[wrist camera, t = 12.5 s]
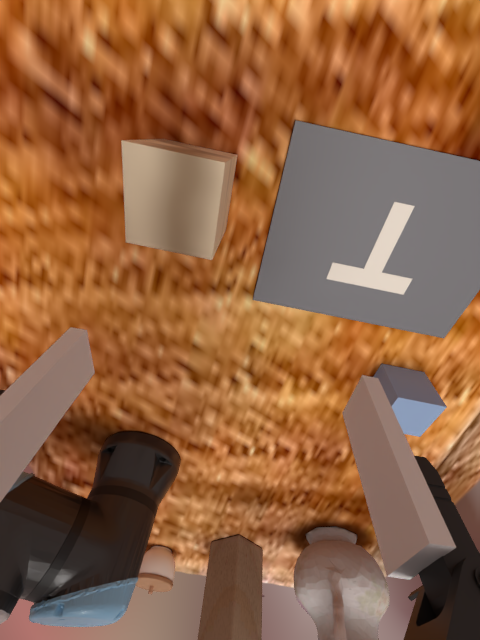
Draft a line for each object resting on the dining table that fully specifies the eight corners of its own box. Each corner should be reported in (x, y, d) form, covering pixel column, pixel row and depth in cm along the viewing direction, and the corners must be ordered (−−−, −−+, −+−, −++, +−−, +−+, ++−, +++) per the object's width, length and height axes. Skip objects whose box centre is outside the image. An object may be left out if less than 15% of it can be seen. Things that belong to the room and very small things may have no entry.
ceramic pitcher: (274, 516, 67) (267, 685, 48) (357, 509, 59) (389, 709, 39) (313, 550, 77) (320, 704, 57) (389, 548, 69) (428, 726, 49)
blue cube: (362, 392, 42) (375, 428, 37) (381, 363, 39) (398, 397, 34) (401, 400, 42) (419, 436, 37) (423, 371, 39) (446, 407, 34)
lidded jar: (169, 560, 86) (159, 602, 78) (137, 549, 84) (123, 592, 76) (186, 550, 81) (177, 595, 73) (152, 538, 78) (139, 583, 71)
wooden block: (239, 533, 72) (230, 654, 55) (263, 548, 76) (262, 665, 59) (210, 541, 76) (194, 655, 59) (234, 554, 80) (225, 666, 63)
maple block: (161, 215, 30) (125, 242, 23) (163, 138, 26) (121, 140, 19) (226, 229, 30) (212, 260, 23) (237, 154, 27) (225, 162, 19)
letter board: (253, 298, 35) (252, 299, 34) (295, 120, 25) (295, 120, 24) (442, 336, 35) (444, 338, 35) (557, 178, 25) (561, 179, 25)
